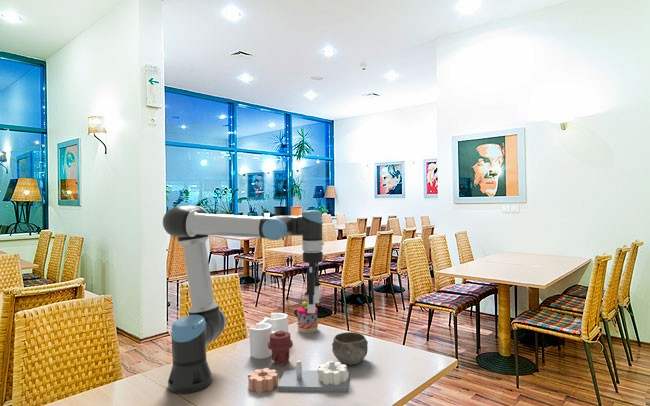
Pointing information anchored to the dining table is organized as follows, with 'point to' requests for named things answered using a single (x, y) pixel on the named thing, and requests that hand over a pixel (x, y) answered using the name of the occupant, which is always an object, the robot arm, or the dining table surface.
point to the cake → (307, 319)
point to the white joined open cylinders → (266, 334)
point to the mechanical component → (280, 346)
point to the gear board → (308, 380)
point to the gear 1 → (263, 380)
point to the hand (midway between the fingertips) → (313, 307)
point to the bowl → (350, 347)
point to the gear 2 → (332, 373)
